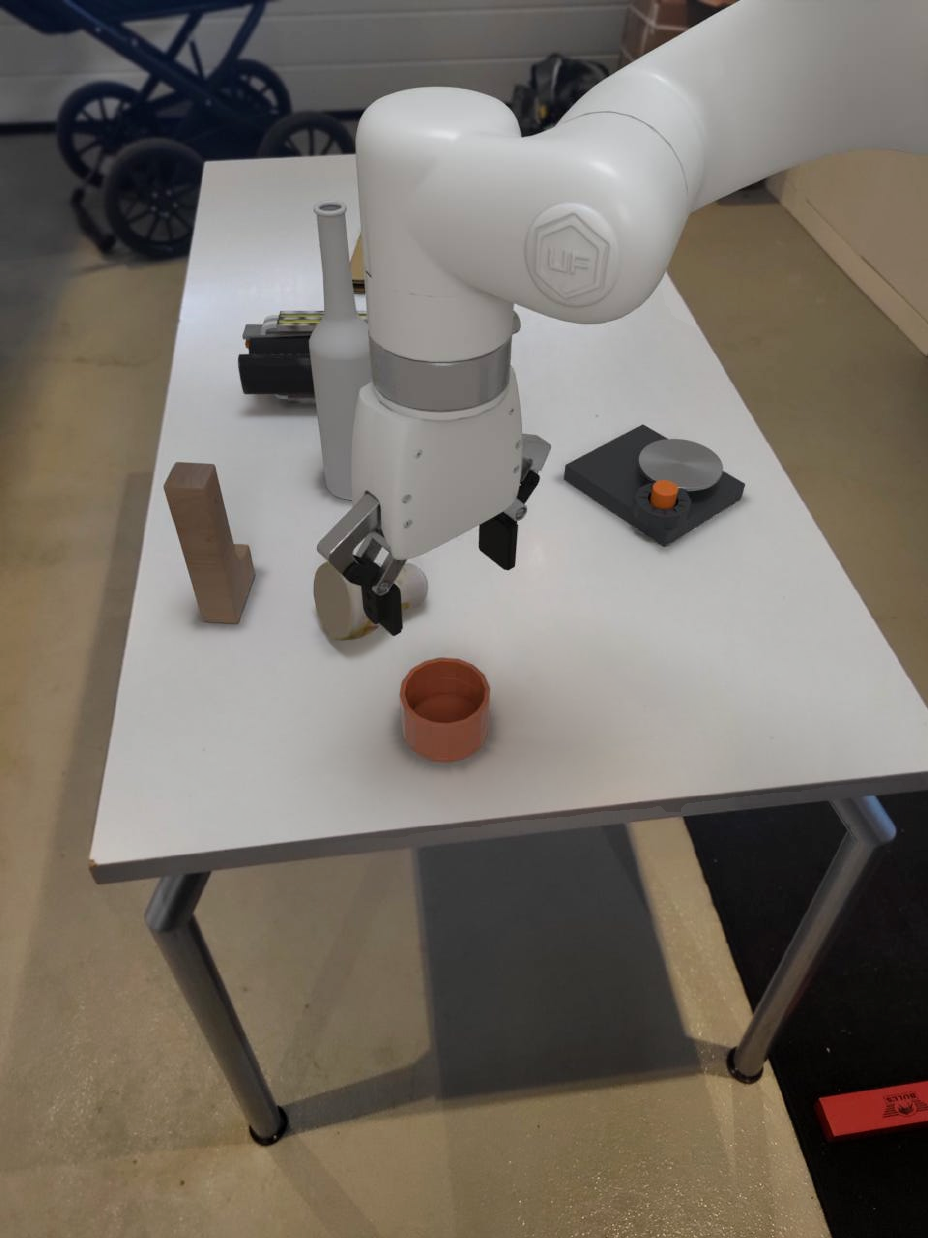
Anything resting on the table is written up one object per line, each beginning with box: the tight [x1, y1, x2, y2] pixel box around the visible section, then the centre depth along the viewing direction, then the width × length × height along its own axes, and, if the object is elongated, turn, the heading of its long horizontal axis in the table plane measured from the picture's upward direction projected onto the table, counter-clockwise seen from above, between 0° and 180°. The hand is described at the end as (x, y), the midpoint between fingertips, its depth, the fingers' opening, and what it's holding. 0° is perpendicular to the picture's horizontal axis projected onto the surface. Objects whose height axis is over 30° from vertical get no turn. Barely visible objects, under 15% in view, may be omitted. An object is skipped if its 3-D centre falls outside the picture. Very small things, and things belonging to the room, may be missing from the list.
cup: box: [399, 656, 491, 763], centre depth 69 cm, size 7×7×4 cm
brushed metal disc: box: [638, 438, 724, 491], centre depth 89 cm, size 8×8×1 cm
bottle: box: [309, 199, 372, 501], centre depth 83 cm, size 7×7×28 cm
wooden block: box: [162, 461, 256, 624], centre depth 75 cm, size 7×3×15 cm, turn 176°
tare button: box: [650, 480, 678, 509], centre depth 85 cm, size 2×2×2 cm
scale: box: [563, 423, 746, 547], centre depth 91 cm, size 14×13×4 cm
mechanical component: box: [237, 310, 368, 404], centre depth 100 cm, size 9×26×10 cm, turn 91°
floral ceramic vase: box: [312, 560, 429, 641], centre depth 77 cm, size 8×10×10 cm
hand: (442, 589), depth 59 cm, fingers open, 9 cm apart
